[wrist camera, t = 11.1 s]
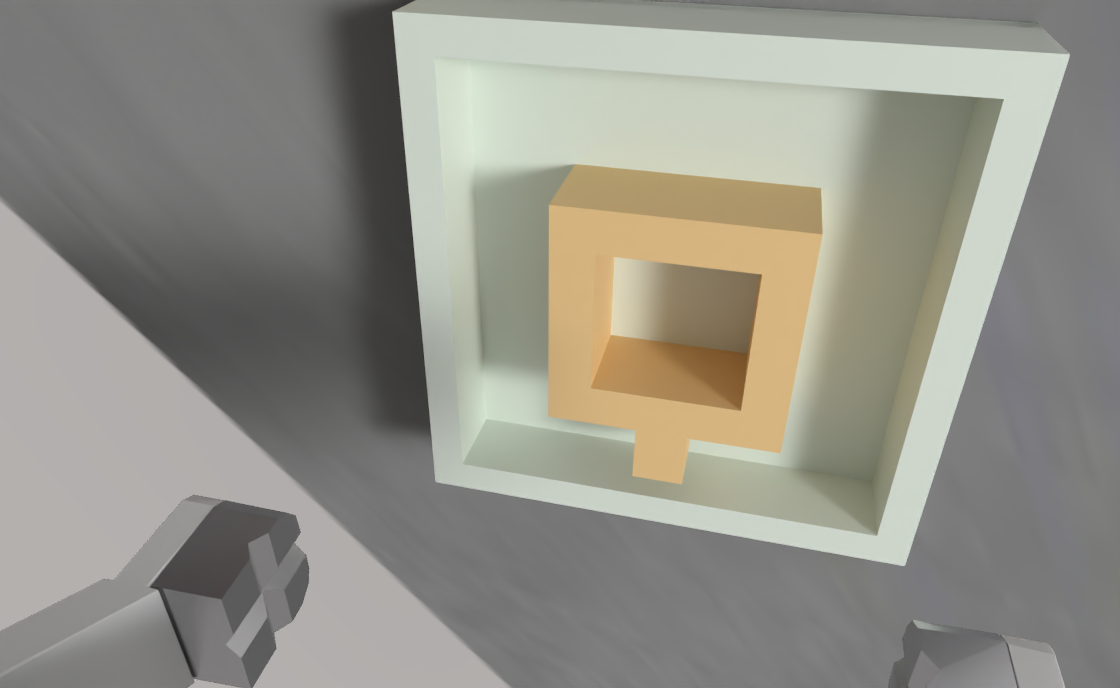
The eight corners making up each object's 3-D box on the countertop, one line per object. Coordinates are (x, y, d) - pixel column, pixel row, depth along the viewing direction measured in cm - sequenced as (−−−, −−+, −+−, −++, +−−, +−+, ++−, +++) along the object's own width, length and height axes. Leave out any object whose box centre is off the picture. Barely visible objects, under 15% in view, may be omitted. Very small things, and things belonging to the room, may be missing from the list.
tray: (438, -12, 18) (392, 11, 16) (1036, 22, 16) (1070, 54, 14) (466, 426, 25) (435, 481, 23) (896, 497, 22) (905, 566, 20)
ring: (575, 164, 19) (549, 204, 17) (821, 188, 18) (822, 234, 16) (570, 405, 23) (547, 461, 21) (775, 437, 22) (771, 499, 20)
